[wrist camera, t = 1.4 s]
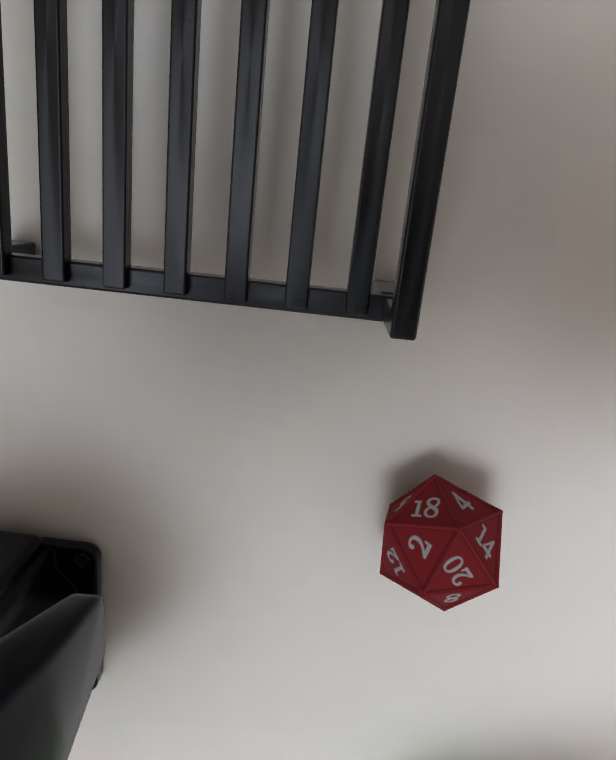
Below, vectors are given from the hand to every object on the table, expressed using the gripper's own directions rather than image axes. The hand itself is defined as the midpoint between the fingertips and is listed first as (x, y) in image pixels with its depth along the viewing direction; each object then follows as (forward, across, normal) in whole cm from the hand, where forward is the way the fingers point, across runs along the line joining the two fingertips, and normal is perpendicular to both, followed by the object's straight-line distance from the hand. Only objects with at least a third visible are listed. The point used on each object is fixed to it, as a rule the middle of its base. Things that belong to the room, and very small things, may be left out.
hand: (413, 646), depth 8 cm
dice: (+12, -3, +4) cm, 13 cm away
